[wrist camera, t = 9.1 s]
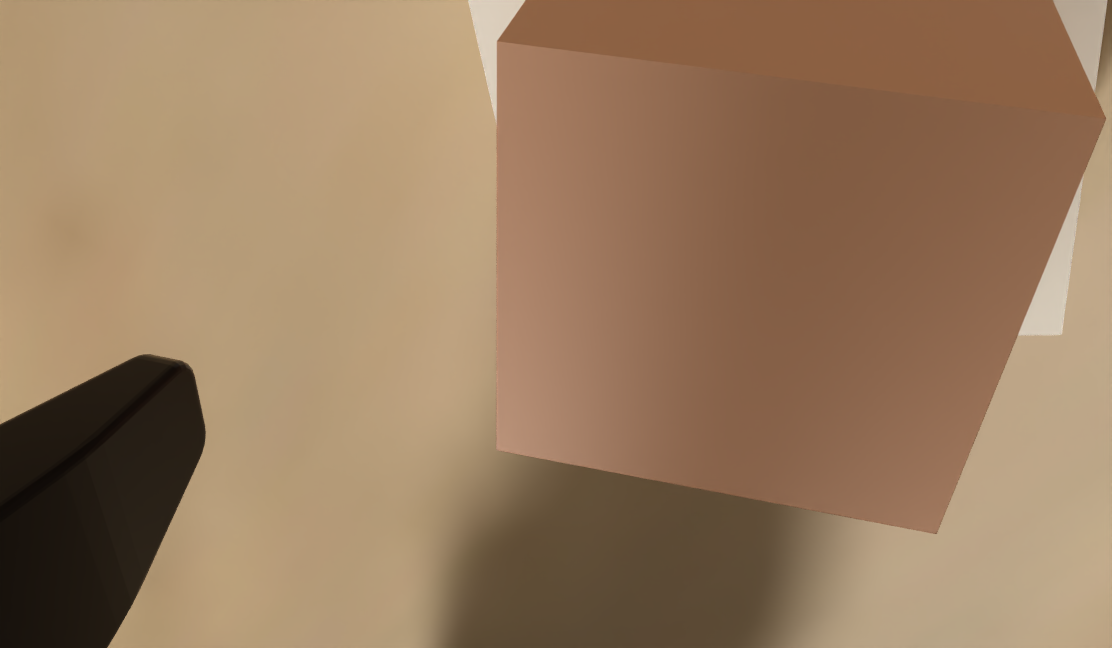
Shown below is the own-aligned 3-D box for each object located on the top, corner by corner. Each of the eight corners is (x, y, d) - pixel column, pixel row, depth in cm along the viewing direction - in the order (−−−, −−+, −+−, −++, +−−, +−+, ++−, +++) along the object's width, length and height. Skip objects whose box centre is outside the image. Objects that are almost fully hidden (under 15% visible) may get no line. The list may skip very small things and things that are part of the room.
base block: (1024, 199, 18) (1061, 335, 15) (590, 217, 20) (545, 338, 17) (1077, -323, 14) (1146, -283, 10) (510, -226, 16) (429, -169, 13)
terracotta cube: (913, 277, 15) (936, 533, 11) (582, 227, 16) (496, 450, 12) (1022, -68, 12) (1105, 119, 8) (603, -111, 13) (497, 41, 9)
